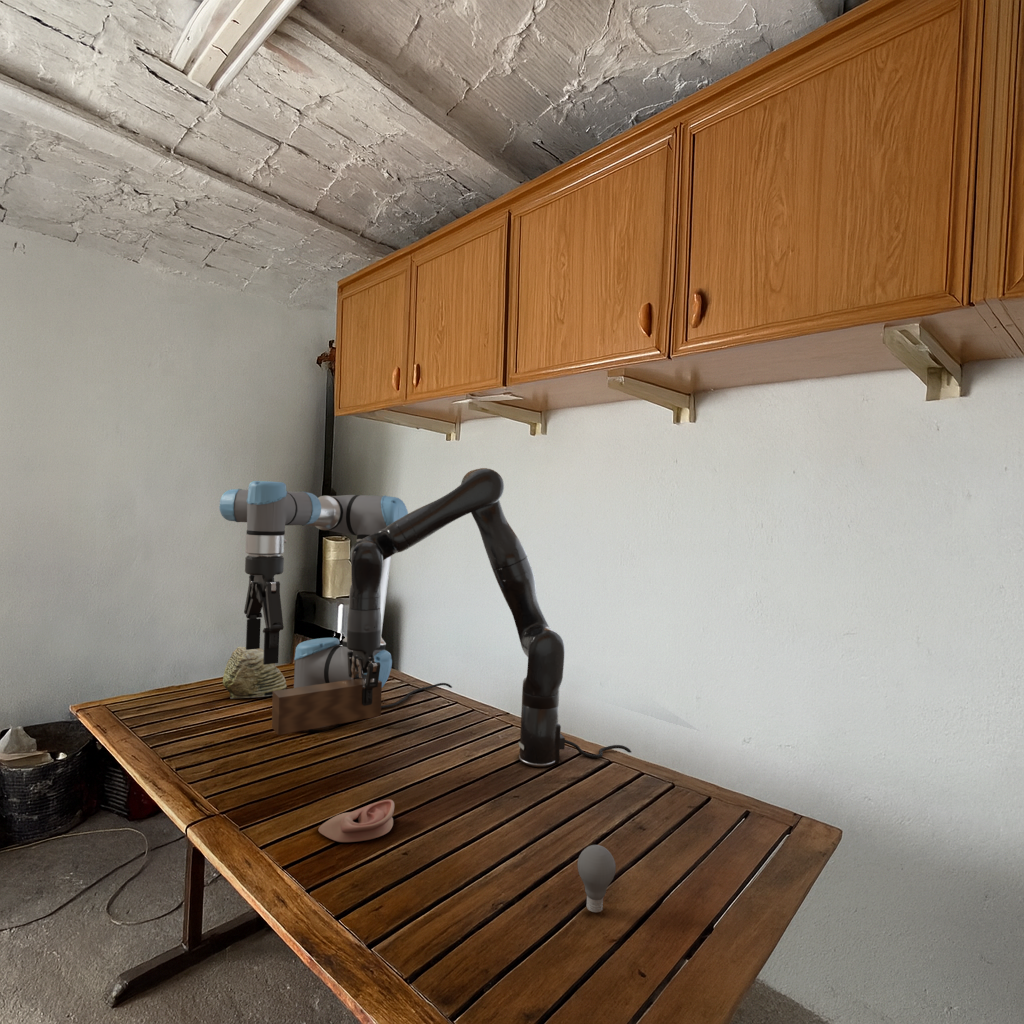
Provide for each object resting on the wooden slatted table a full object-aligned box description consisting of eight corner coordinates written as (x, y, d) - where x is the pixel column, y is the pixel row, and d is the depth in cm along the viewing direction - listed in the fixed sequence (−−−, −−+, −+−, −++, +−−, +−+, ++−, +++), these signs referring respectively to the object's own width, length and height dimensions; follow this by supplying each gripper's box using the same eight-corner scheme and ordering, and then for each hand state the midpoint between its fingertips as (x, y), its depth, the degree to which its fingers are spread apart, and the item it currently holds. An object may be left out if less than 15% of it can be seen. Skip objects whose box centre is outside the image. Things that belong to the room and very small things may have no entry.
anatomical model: (310, 816, 117) (339, 789, 129) (309, 837, 117) (338, 808, 129) (377, 827, 115) (401, 798, 126) (376, 848, 115) (400, 818, 126)
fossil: (218, 695, 195) (220, 647, 195) (278, 685, 208) (279, 640, 207) (228, 703, 189) (230, 653, 188) (289, 692, 201) (290, 645, 201)
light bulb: (572, 898, 103) (575, 837, 103) (608, 897, 103) (611, 837, 103) (579, 922, 97) (582, 858, 97) (617, 922, 97) (620, 858, 97)
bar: (278, 735, 132) (279, 697, 132) (271, 727, 136) (272, 691, 136) (380, 716, 145) (382, 681, 145) (372, 709, 149) (373, 676, 149)
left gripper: (302, 560, 125) (298, 667, 125) (266, 549, 145) (263, 641, 145) (263, 561, 120) (259, 672, 121) (231, 549, 140) (228, 645, 141)
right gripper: (392, 631, 141) (390, 707, 141) (367, 620, 153) (365, 690, 153) (360, 635, 137) (358, 713, 137) (337, 623, 148) (335, 695, 149)
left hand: (261, 656), depth 133 cm, fingers open, 13 cm apart
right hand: (362, 700), depth 145 cm, fingers closed on bar, 5 cm apart
